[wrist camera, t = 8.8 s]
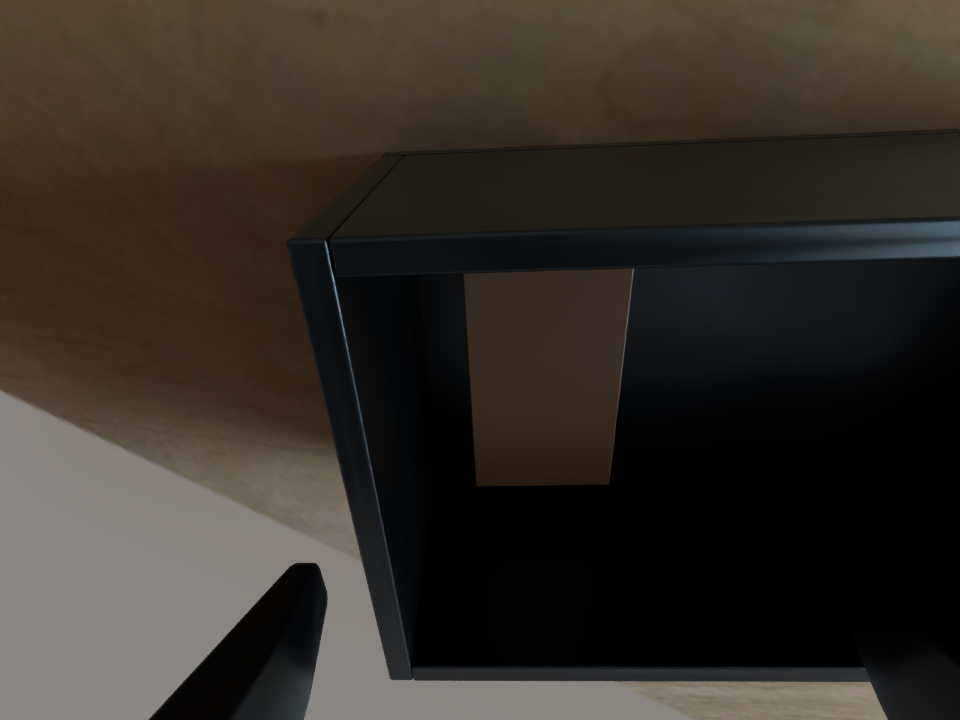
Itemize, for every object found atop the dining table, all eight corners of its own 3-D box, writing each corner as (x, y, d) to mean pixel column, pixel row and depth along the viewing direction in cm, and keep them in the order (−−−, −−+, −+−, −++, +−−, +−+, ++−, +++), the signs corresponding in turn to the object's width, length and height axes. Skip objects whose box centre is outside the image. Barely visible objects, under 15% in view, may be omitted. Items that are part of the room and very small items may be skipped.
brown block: (595, 432, 17) (609, 485, 15) (477, 434, 18) (475, 487, 15) (614, 228, 14) (635, 259, 12) (466, 233, 14) (461, 265, 12)
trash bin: (425, 469, 19) (389, 681, 13) (384, 152, 14) (283, 239, 7) (1012, 461, 18) (1299, 684, 12) (1232, 117, 13) (2013, 181, 6)
